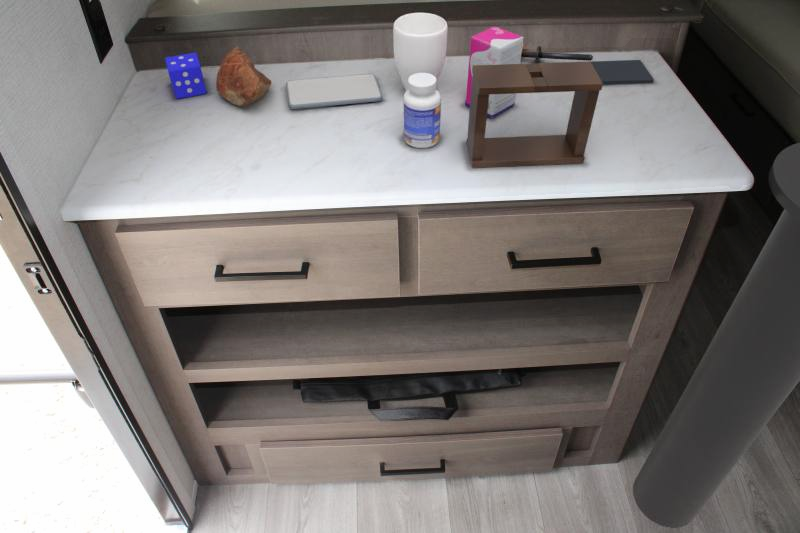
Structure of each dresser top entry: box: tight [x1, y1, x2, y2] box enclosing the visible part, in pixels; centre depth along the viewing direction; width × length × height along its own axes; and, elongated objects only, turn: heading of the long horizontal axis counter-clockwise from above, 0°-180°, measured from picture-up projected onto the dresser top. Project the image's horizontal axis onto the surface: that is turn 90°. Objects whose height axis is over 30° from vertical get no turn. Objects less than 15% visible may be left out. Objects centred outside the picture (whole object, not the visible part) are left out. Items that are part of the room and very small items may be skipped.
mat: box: [590, 59, 655, 85], centre depth 108 cm, size 16×7×1 cm, turn 93°
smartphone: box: [285, 73, 383, 110], centre depth 103 cm, size 8×1×15 cm
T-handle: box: [521, 44, 594, 64], centre depth 109 cm, size 10×3×14 cm
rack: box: [465, 61, 604, 169], centre depth 87 cm, size 16×6×12 cm, turn 93°
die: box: [164, 52, 208, 100], centre depth 103 cm, size 5×5×5 cm
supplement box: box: [465, 25, 525, 119], centre depth 97 cm, size 6×6×12 cm
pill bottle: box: [402, 73, 442, 149], centre depth 91 cm, size 5×5×10 cm
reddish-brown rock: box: [215, 45, 272, 107], centre depth 101 cm, size 13×8×10 cm
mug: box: [392, 12, 448, 92], centre depth 102 cm, size 12×8×11 cm
